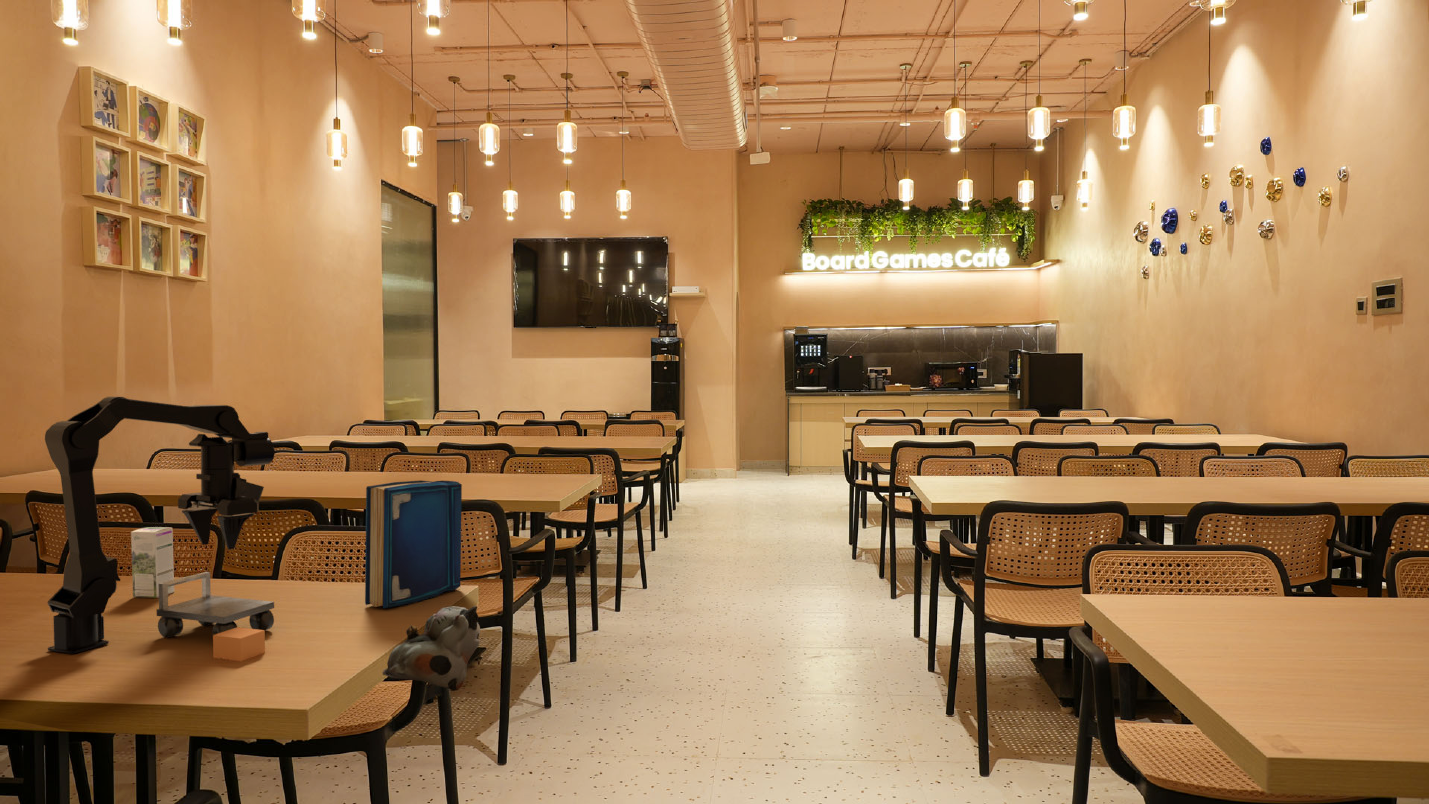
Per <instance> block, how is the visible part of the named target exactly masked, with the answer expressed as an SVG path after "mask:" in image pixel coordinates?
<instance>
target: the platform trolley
mask: <svg viewBox="0 0 1429 804" xmlns="http://www.w3.org/2000/svg"><path fill="white" fill-rule="evenodd" d="M200 579H201V597H196V598H192V599H190V600H189V599H188V600H186V601H182V602H177V603H175V604H172V605H169V594H168V587H170V586H174V587H175V586H176V585H181V584H186V583H188V582H189V583H190V582H192V581H193V582H194V581H197V580H200ZM211 592H212V591H211V572H210V571H204V572H201V573H200V572H199V573H196V574H193V575H188V576H184V577H180V578H176V579H175V578H174V580H171V581H167V582H163V583H159V597H158V608H157V609H156V617H160V618H159V619H158V621H157V628H158V632H159V634H160V635H161V636H162V637H164V638H168V639H169V638H171V637H174V636H175V637H176V636H177V635H180V634H181V633H182V632H183V629H184V621H183V620H186V621H187V620H189V621H195V622H196V621H197V622H198V624H200V625H201V626H203V627H204V626H205V627H207V626H210V625H213V624H214V625H213V627H212V631H211V632H212V636H213V635H215V634H218V633H221V632H224V631H227V630H231V629H234V628H237V627H238V625H237V623H236V622H235V621H238V620H241V619H244V618H247V617H249V620H248V621H249V625H250V627H251V628H250V629H258V630H265V631H268V630H270V629H271V628H272V627H273V626H274V623H275V619H274V618H275V617H274V613H272V611H271V610H272V609H275V601H270V600H268V601H267V600H261V599H260V600H259V599H250V598H241V597H233V596H231V597H230V596H220V595H211Z"/></svg>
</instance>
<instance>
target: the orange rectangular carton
mask: <svg viewBox="0 0 1429 804" xmlns="http://www.w3.org/2000/svg"><path fill="white" fill-rule="evenodd" d="M265 631H266V630H258V629H252V628H248V627H240V626H239V627H238V626H237V628H234V629H231V630H227V631H224V632H221V633H218V634H215V635H213V634H212V640H213V641H212V644H213V645H212V647H213V648H212V649H213V650H212V651H213V655H212V656H213V657H212V658H214V659H220V658H223V660H227V659H229V661H234V662H235V661H237V662H243V661H245V660H248V659H251V658H254V657H256V656H259V655H262V654H265V653H266V640H265V639H266V638H265V637H266V634H265V633H266V632H265Z"/></svg>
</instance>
